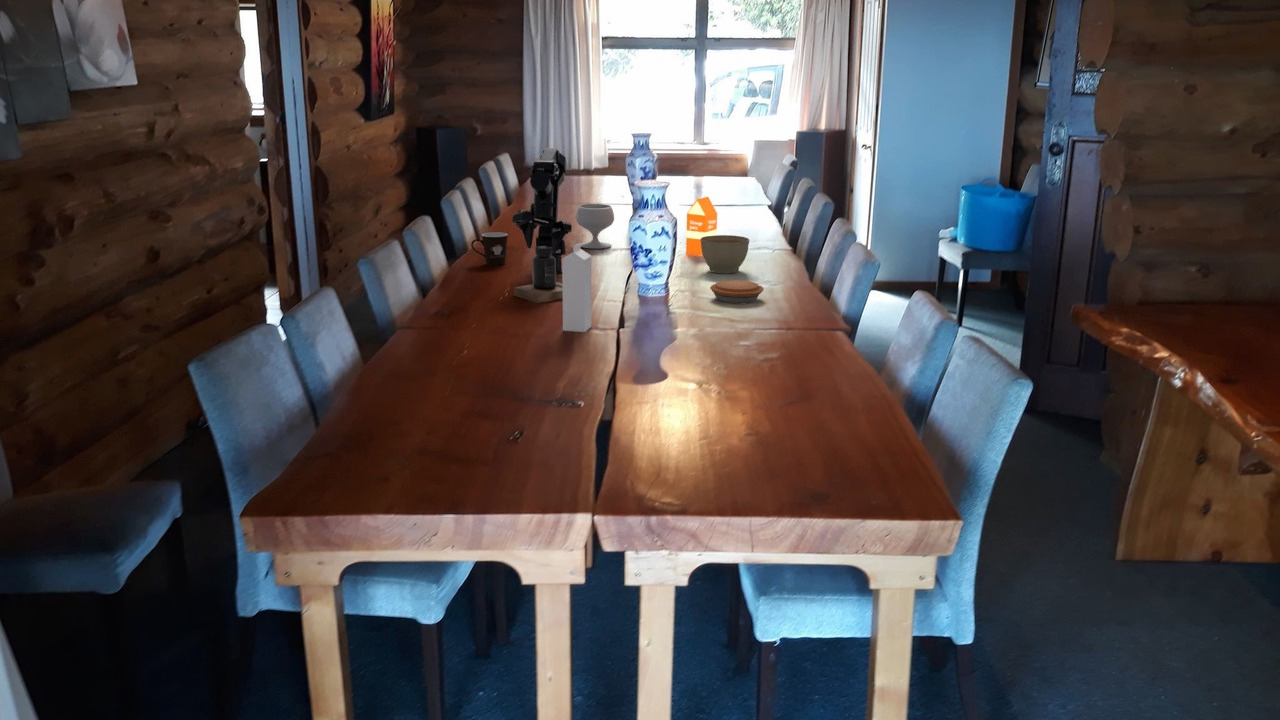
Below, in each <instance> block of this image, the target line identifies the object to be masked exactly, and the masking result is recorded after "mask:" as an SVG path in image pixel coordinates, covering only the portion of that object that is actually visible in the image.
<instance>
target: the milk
mask: <svg viewBox="0 0 1280 720" xmlns="http://www.w3.org/2000/svg"><path fill="white" fill-rule="evenodd" d="M580 244H581V243H580V242H579V243H577V244H576V245H574V246H572V253H569V254H568V255H566V256H564V257H562V258H561V271H562V273H561V274H562V275H561V276H562V277H561V278H562V284H563V299H562V331H564V332H576V333H586V332H587V331H588V330H589V329H591V327H592V255H591V254H589V253H588V252H587V251H585V250H583V249H581V248H582V247H581V245H580Z"/></svg>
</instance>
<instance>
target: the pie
mask: <svg viewBox="0 0 1280 720" xmlns="http://www.w3.org/2000/svg"><path fill="white" fill-rule="evenodd" d="M709 289H710V290H711V291H712V292H713V295H714V296H715V298H716V300H718V302H721V303H726V304H733V305H734V304H735V305H742V304H741V303H746V304H751V303H754V302H755V301H756V300H757V299H758V298H759V295H760V294H762V293H763V291H764V289H765V288H764V287H763V286H761V285H759V284H758V283H756V282H753V281H748V280H740V279H735V280H734V279H730V280H728V279H727V280H721V281H717V282H715V283H714V284H712V285H711V286H710V287H709ZM753 301H754V302H753ZM750 302H751V303H750Z"/></svg>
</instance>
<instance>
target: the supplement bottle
mask: <svg viewBox="0 0 1280 720" xmlns="http://www.w3.org/2000/svg"><path fill="white" fill-rule="evenodd" d="M534 250H535V253H534V254H535V256H533V258H532V260H531V262H532V284H533V287H534V288H535V289H540V290H548V289H553V288H555V287H556V282H557V274H556V260H555V257H554V256H552V255H551V254H552V247H550V246H538V247H535V248H534Z"/></svg>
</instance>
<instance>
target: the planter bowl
mask: <svg viewBox="0 0 1280 720" xmlns="http://www.w3.org/2000/svg"><path fill="white" fill-rule="evenodd" d="M700 241H701V250H702V254H703V256H702V257H703V260H704V262H705V264H706V265H707V266H708V268H709V272H710V273H711V272H712V273H715V274H725V275H726V274H733V273H734V274H735V273H737V272H739V269H740V267H741V266H742V265H743V264H744V261H745V260H746V257H747V255H748V251H749V244H750V238H749V237H745V236H741V235H740V236H739V235H728V234H718V235H714V236H705V237H702V238H701V239H700Z"/></svg>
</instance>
